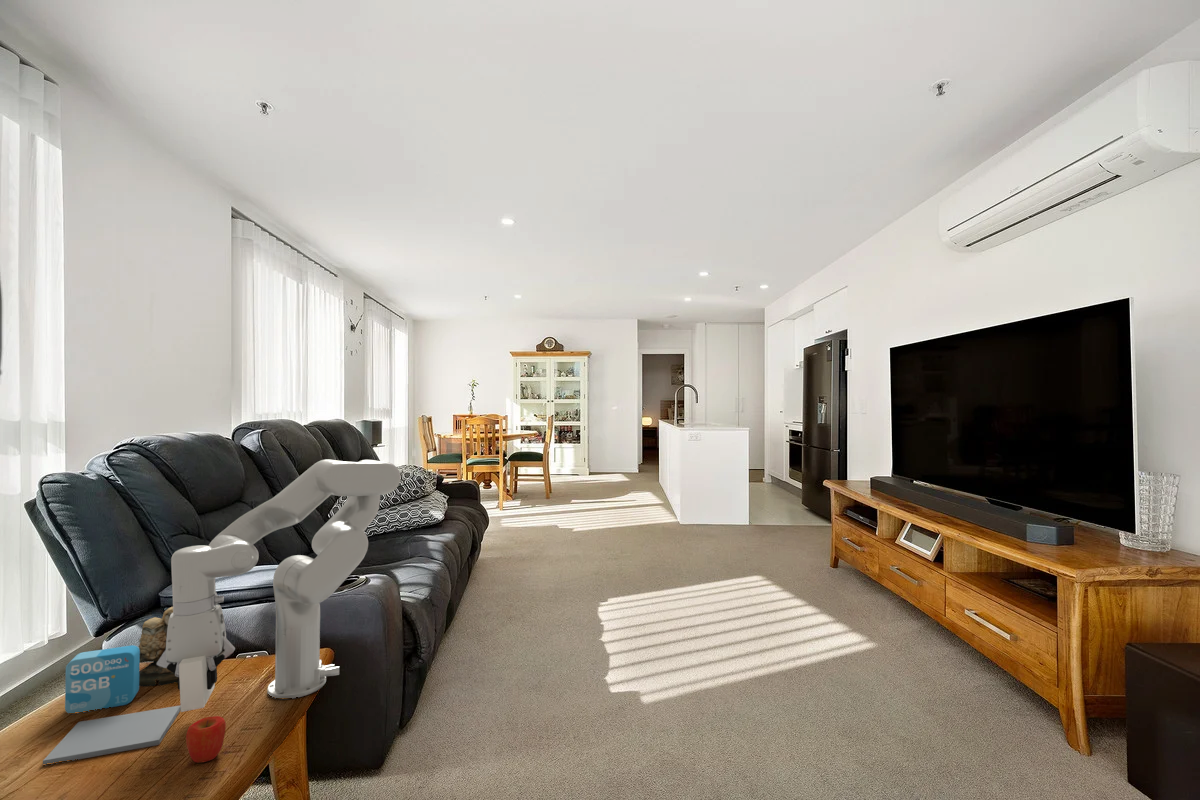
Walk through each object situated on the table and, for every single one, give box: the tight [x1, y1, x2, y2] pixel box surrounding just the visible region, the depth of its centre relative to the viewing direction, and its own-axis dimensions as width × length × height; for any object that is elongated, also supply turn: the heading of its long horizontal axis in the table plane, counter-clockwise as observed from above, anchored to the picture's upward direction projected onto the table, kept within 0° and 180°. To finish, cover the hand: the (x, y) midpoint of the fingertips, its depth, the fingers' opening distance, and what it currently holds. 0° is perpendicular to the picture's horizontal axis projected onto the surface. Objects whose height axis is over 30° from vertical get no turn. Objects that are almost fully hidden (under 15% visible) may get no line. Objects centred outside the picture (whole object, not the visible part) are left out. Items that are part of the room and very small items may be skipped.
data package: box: [64, 644, 140, 714], centre depth 128 cm, size 12×4×12 cm, turn 116°
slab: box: [179, 656, 216, 713], centre depth 121 cm, size 4×9×10 cm, turn 22°
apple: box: [185, 715, 227, 764], centre depth 108 cm, size 6×6×8 cm
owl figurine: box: [138, 606, 178, 687], centre depth 143 cm, size 18×12×17 cm, turn 124°
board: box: [42, 705, 181, 765], centre depth 116 cm, size 18×14×1 cm
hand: (198, 688), depth 121 cm, fingers closed on slab, 4 cm apart
